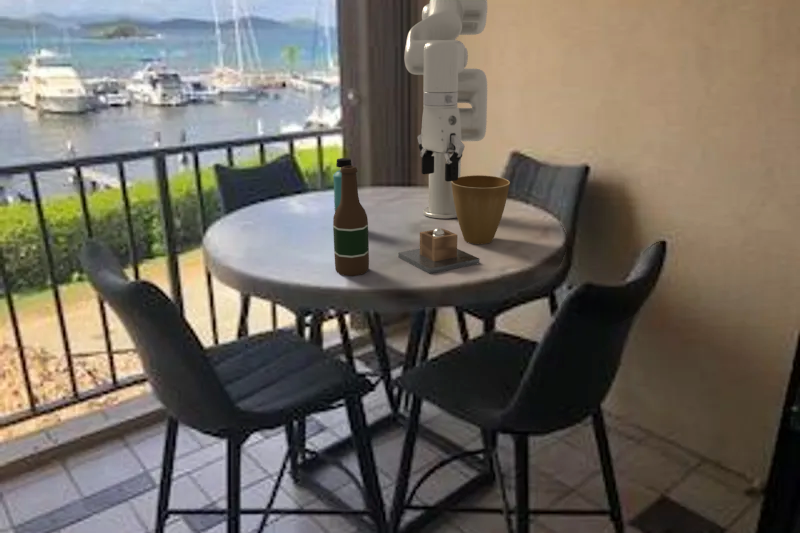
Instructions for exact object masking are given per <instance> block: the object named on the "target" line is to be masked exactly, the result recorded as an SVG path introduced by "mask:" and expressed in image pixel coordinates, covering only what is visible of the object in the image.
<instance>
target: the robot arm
mask: <svg viewBox="0 0 800 533" xmlns="http://www.w3.org/2000/svg"><path fill="white" fill-rule="evenodd" d="M487 15H488V0H429V3H427V4H426V5H424V6H423V7H422V11H421V20H420V21H419V22H417V23H415V25H413V26H412V27H411V28H410V30H409V31H408V33H407V37H406V41H405V42H406V43H405V48H404V66H405V68H406V70H407V71H408V73H410V74H412V75H415V76H417V75H418V76H423V91H422V92H423V99H422V101H423V110H422V118H421V120H422V121H421V130H420V131H421V132H420V134H418V135H417V142H418V149H419V151H420V155H419V156H420V157H421V174H422V175H428V206H427V207H424V208H423V211H422V213H423V215H424V216H426V217H429V218H433V219H442V220H443V219H458V218H457V214H456V210H455V204H454V199H453V192H452V184H451V181H456V180H458V177H461V172H462V171H461V170H462V169H461V166H462V163H461V162H462V161H461V160H462V157H463V154H464V153H463V152H464V150H465V144H464V143H463V142H479V141H482V140H483V139H484V138H485V136H486V132H487V122H488V121H487V119H488V118H487V117H488V79H487V75H486V73H485V72H484V71H483V70H482V69H481V68H466V67H467V65H468V57H469V55H468V49H467V47H466V46H465V44H464V43H463V42H462V41H460V40H457V38H458V37H459V36H460V35H461V36H464V35H465V36H466V35H467V36H470V35H471V36H473V35H479V34H482V32H484V30H485V27H486V23H487ZM458 104H469V105H470V106H471V107H458Z"/></svg>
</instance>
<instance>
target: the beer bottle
mask: <svg viewBox="0 0 800 533" xmlns="http://www.w3.org/2000/svg"><path fill="white" fill-rule="evenodd" d="M340 172H341V173H342V177H341V200H340V204H339V206H338V207H337V209H336V211H335V210H334V214H333V218H332V219H333V220H332V223H333V224H332V227H333V229H332V230H333V231H332V233H333V248H334V249H333V251H334V267H335V271H336V272H337V274H339V275H340V276H346V277H355V276H362V275H365V273H367V272H368V271H369V268H370V266H369V265H370V250H369V244H370V243H369V222H368V221H369V219H368V215H367V213H366V209H365V208H364V206H363V205H362V204H361V202H360V198H359V189H358V180H357V177H358V176H357V173H358V168H357V166H354V165H352V166H344V167H340Z"/></svg>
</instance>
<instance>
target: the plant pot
mask: <svg viewBox="0 0 800 533" xmlns="http://www.w3.org/2000/svg"><path fill="white" fill-rule="evenodd" d="M451 184H452V192H453V199H454V204H455V210H456V214H457V218H456V219H457V222H458V225H459V228H460V232H461V234H462V236H463V239H464V242H466V243H468V242H469V243H468V244H471V243H473V245H487V244H490V243H492V242H493V240H494V238H495V235H496V233H497V232H498V229H499V225H500V223H501V220H502V217H503V214H504V210H505V208H506V202H507V198H508V193H509V189H510V184H511V182H510V180H508V179H506V178H504V177H500V176H495V175H485V174H481V175H479V174H478V175H477V174H473V175H464V176H460V177H458V180H456V181H451ZM486 243H487V244H486Z"/></svg>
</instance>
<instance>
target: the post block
mask: <svg viewBox="0 0 800 533" xmlns="http://www.w3.org/2000/svg"><path fill="white" fill-rule="evenodd" d="M443 229H444V228H442V227H436V228H434V229H433V230H434V231H433V236H434V237H439V236H445V233H444V230H443ZM397 256H398V258H399V259H401V260H402V261H405V262H407V263H408V262H409V264H410V265H412V266H414V265H415V266H414V267H416V268H418V269H419V268H420V270H421V269H422V271H423V272H425V273H427V274H429V275H431V273H432V274H435V273H441V272H445V271H444V270H446V271H449V269H451V270H454V268H455V269H460V268H464V267H463V266H465V267H468V266H467V265H470V266H474V265H478V264H477V263H479V264H480V259H481V258H479V257H477V256H474V255H473V254H470V253H468V252H466V251H463V250H461V249H459V248H457V257H454V258H449V259H444V260H439V261H432V260H430V259H428V258H426V257H424V256H422V255H420V248H415V249H411V250H406V251H405V250H404V251H399V252H398V254H397ZM473 264H474V265H473ZM459 267H460V268H459ZM440 271H441V272H440Z"/></svg>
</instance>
